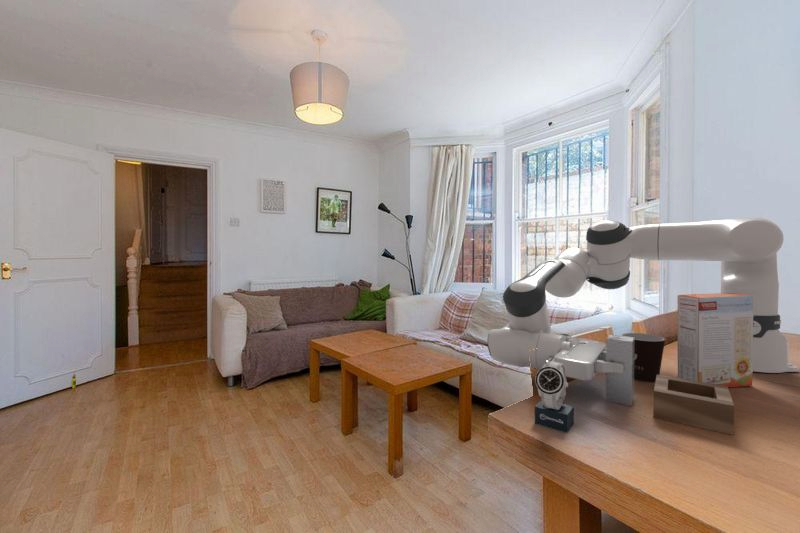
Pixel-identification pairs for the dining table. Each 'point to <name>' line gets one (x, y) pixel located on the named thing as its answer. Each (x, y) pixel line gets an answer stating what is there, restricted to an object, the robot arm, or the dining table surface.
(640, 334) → the coffee mug
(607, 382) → the grey brushed metal pillar
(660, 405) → the well block
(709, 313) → the cracker box
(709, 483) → the dining table surface
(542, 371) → the watch
